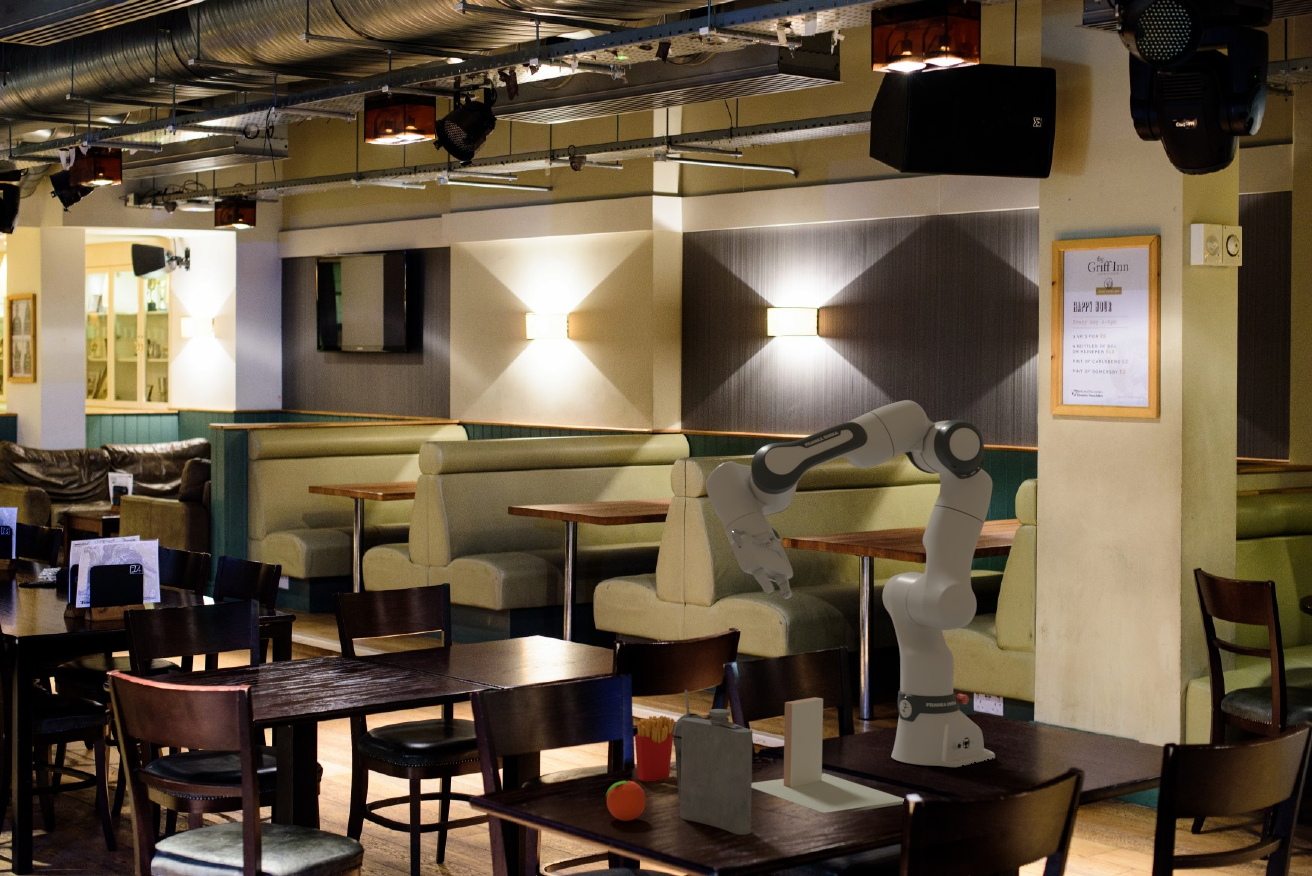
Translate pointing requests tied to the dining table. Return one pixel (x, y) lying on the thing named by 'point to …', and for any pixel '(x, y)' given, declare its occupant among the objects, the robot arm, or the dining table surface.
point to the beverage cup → (678, 740)
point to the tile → (803, 741)
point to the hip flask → (716, 772)
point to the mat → (830, 794)
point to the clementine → (626, 800)
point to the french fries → (654, 748)
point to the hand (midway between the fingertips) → (779, 594)
